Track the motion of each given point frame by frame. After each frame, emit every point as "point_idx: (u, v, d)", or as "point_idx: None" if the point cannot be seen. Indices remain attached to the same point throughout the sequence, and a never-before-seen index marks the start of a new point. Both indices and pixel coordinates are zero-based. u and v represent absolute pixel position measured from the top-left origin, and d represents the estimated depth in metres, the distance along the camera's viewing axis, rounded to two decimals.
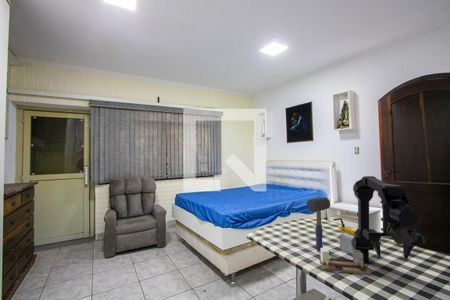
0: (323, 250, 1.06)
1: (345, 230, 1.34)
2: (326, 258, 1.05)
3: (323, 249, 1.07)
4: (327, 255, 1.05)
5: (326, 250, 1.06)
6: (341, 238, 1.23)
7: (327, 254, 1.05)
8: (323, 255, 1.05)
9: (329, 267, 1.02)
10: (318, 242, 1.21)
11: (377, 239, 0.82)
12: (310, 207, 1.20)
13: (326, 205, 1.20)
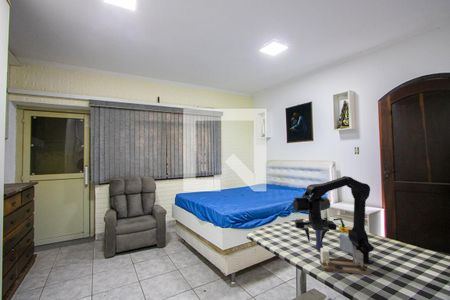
0: (323, 250, 1.06)
1: (345, 230, 1.34)
2: (326, 258, 1.05)
3: (323, 249, 1.07)
4: (327, 255, 1.05)
5: (326, 250, 1.06)
6: (341, 238, 1.23)
7: (327, 254, 1.05)
8: (323, 255, 1.05)
9: (329, 267, 1.02)
10: (318, 242, 1.21)
11: (302, 227, 1.06)
12: None
13: (327, 205, 1.20)
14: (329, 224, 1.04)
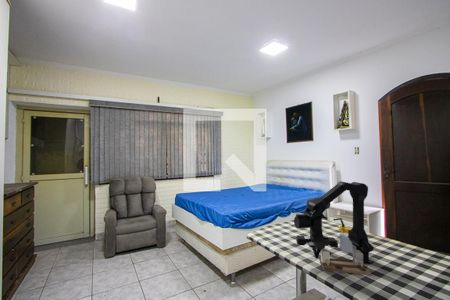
0: (323, 250, 1.06)
1: (345, 230, 1.34)
2: (327, 258, 1.05)
3: (323, 249, 1.07)
4: (327, 255, 1.05)
5: (326, 250, 1.06)
6: (341, 238, 1.23)
7: (327, 254, 1.05)
8: (323, 255, 1.05)
9: (329, 267, 1.02)
10: None
11: (303, 244, 1.06)
12: None
13: None
14: (330, 241, 1.04)
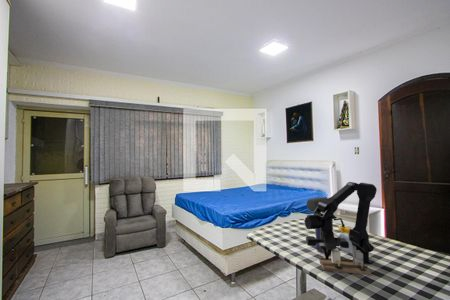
0: (334, 251, 1.06)
1: (345, 230, 1.34)
2: (338, 259, 1.04)
3: (334, 250, 1.07)
4: (338, 256, 1.04)
5: (337, 251, 1.05)
6: None
7: (338, 255, 1.04)
8: (334, 256, 1.05)
9: (329, 267, 1.02)
10: None
11: (314, 244, 1.05)
12: (310, 207, 1.20)
13: None
14: (341, 242, 1.03)
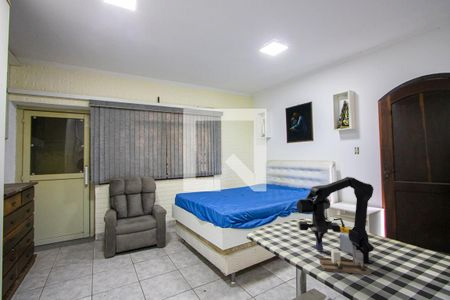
0: (334, 251, 1.06)
1: (345, 230, 1.34)
2: (338, 259, 1.04)
3: (334, 250, 1.07)
4: (338, 256, 1.04)
5: (337, 251, 1.05)
6: (341, 238, 1.23)
7: (338, 255, 1.04)
8: (334, 256, 1.05)
9: (329, 267, 1.02)
10: None
11: (306, 228, 1.06)
12: None
13: (326, 205, 1.20)
14: (333, 226, 1.04)
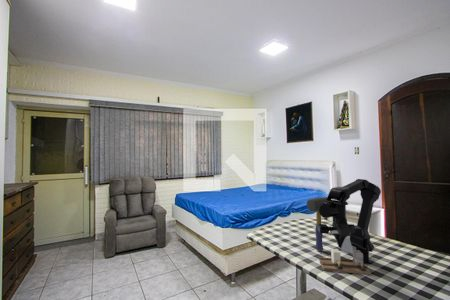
0: (334, 251, 1.06)
1: None
2: (338, 259, 1.04)
3: (334, 250, 1.07)
4: (338, 256, 1.04)
5: (337, 251, 1.05)
6: None
7: (338, 255, 1.04)
8: (334, 256, 1.05)
9: (329, 267, 1.02)
10: (318, 242, 1.21)
11: (326, 232, 1.02)
12: (310, 207, 1.20)
13: None
14: (355, 229, 1.00)
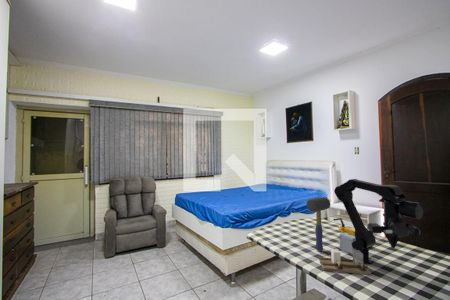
0: (334, 251, 1.06)
1: (345, 230, 1.34)
2: (338, 259, 1.04)
3: (334, 250, 1.07)
4: (338, 256, 1.04)
5: (337, 251, 1.05)
6: (341, 238, 1.23)
7: (338, 255, 1.04)
8: (334, 256, 1.05)
9: (329, 267, 1.02)
10: (318, 242, 1.21)
11: (380, 231, 0.96)
12: (310, 207, 1.20)
13: (326, 205, 1.20)
14: None
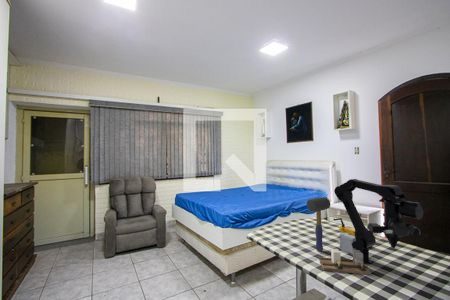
0: (334, 251, 1.06)
1: (345, 230, 1.34)
2: (338, 259, 1.04)
3: (334, 250, 1.07)
4: (338, 256, 1.04)
5: (337, 251, 1.05)
6: (341, 238, 1.23)
7: (338, 255, 1.04)
8: (334, 256, 1.05)
9: (329, 267, 1.02)
10: (318, 242, 1.21)
11: (380, 231, 0.96)
12: (310, 207, 1.20)
13: (327, 205, 1.20)
14: None
